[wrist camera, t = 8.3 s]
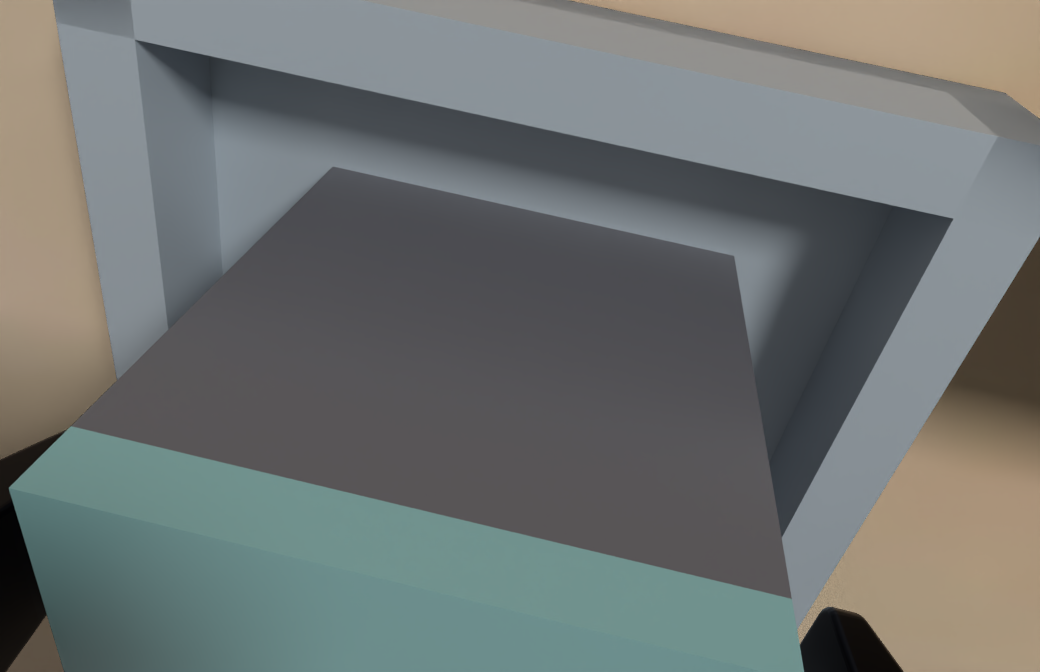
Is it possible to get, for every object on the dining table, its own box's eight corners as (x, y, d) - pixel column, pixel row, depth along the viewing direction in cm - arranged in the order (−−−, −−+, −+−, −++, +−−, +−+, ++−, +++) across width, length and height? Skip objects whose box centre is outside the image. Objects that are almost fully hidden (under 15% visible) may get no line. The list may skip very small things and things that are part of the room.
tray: (693, 685, 15) (697, 791, 13) (218, 568, 15) (163, 658, 14) (1004, 93, 8) (1088, 155, 7) (160, -88, 9) (40, -69, 7)
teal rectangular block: (602, 610, 13) (569, 1033, 8) (321, 542, 13) (139, 919, 9) (734, 256, 9) (805, 682, 5) (333, 166, 9) (10, 487, 5)
